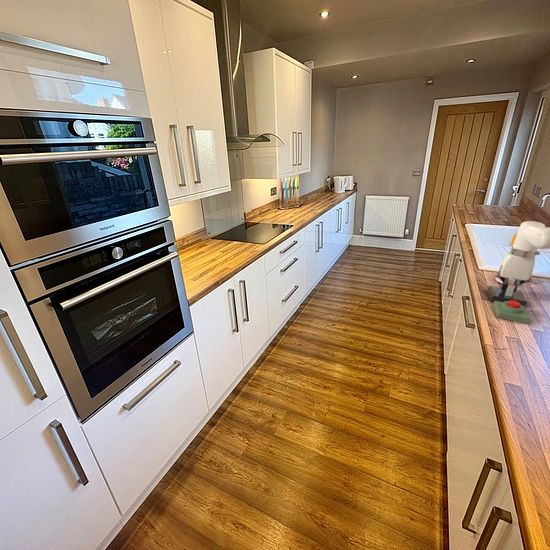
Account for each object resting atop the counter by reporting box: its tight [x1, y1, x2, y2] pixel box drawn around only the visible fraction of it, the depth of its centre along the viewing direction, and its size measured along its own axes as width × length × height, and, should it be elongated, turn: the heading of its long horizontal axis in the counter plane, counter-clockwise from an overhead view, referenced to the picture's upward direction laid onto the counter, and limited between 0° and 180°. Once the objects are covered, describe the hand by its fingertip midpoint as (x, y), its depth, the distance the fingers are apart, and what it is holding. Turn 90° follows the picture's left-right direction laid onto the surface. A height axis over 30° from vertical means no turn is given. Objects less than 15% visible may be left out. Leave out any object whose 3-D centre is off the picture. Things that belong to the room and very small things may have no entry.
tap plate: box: [486, 285, 528, 308], centre depth 125 cm, size 12×10×3 cm
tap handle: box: [505, 280, 515, 296], centre depth 123 cm, size 6×2×5 cm, turn 154°
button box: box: [492, 301, 532, 324], centre depth 115 cm, size 10×10×4 cm
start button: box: [508, 300, 520, 308], centre depth 114 cm, size 4×4×2 cm
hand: (507, 291), depth 124 cm, fingers closed on tap handle, 2 cm apart
